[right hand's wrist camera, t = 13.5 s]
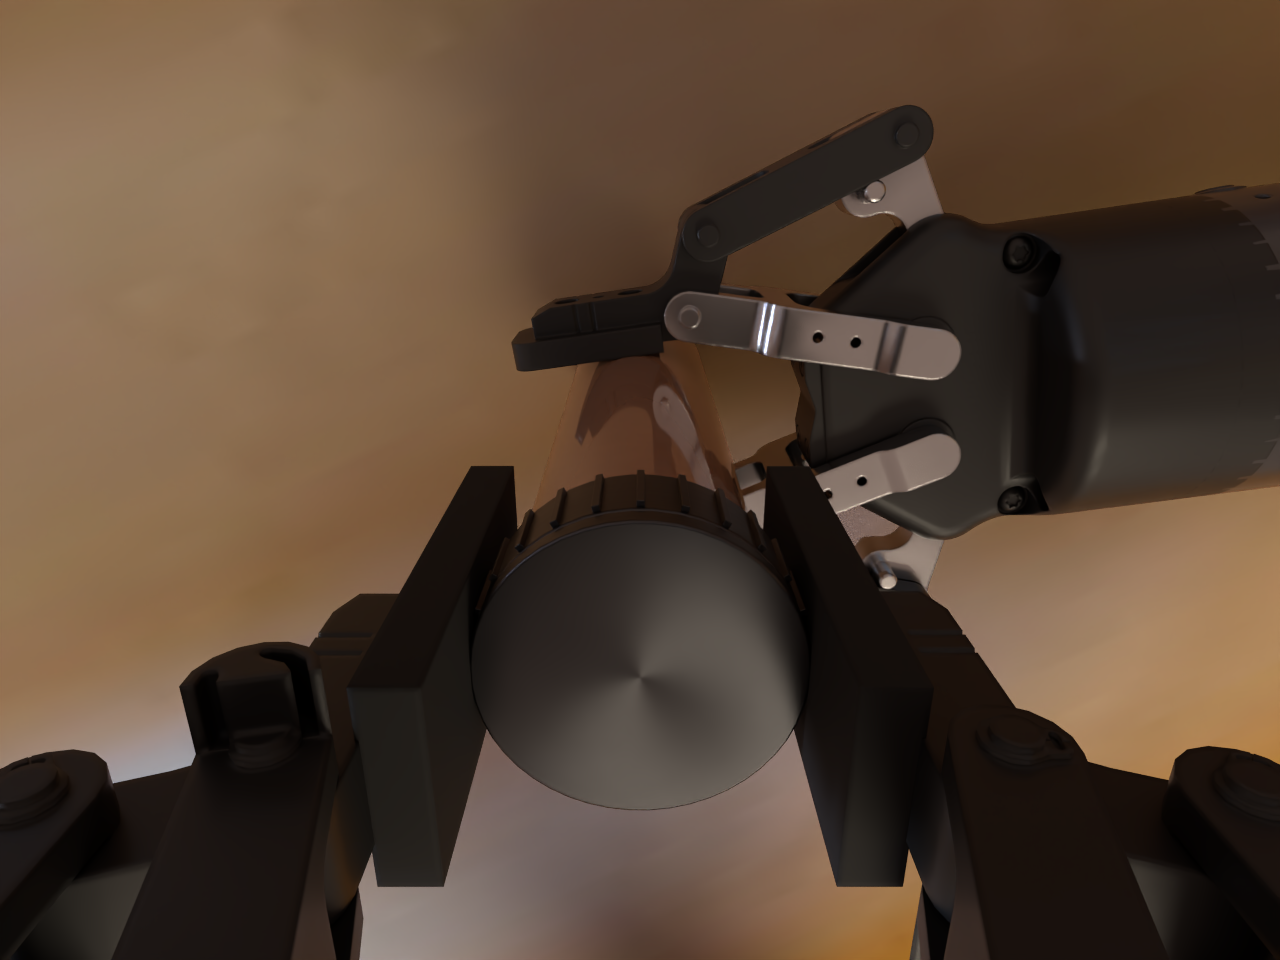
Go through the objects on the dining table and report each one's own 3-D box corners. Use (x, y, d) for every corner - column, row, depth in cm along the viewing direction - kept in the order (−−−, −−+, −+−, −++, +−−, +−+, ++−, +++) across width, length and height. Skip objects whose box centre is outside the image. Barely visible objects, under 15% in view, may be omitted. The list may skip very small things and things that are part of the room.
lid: (525, 757, 13) (511, 837, 12) (448, 498, 12) (418, 549, 10) (810, 713, 13) (834, 789, 11) (773, 441, 11) (795, 484, 10)
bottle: (562, 331, 26) (448, 572, 11) (678, 290, 26) (738, 480, 10) (604, 440, 28) (557, 797, 12) (715, 404, 27) (817, 726, 12)
